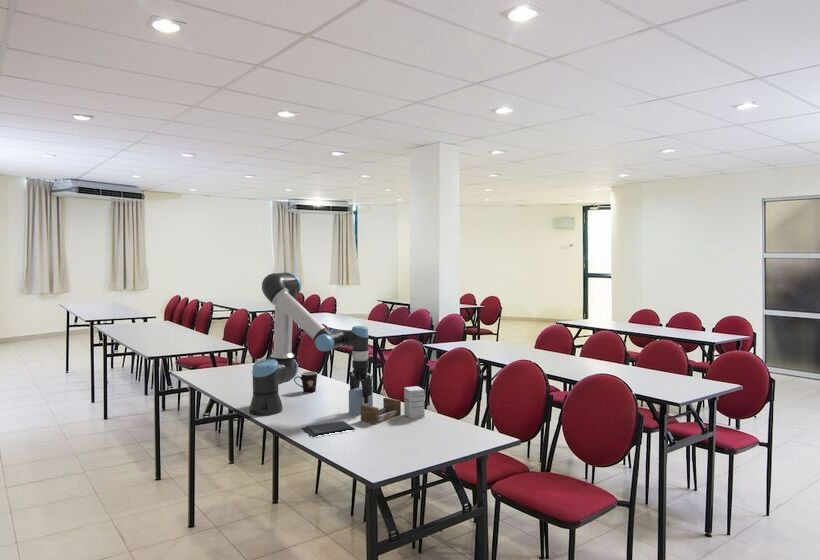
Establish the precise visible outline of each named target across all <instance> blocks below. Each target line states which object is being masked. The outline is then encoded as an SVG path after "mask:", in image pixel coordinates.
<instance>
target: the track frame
mask: <svg viewBox="0 0 820 560" xmlns="http://www.w3.org/2000/svg"><path fill="white" fill-rule="evenodd" d="M382 401H383V403H382V404H383V405H382V406H383V407H381V408H379V407H375V406H373V407H371V406H367V405H361V414H360V421H361V422H364V421H365V423H368V422H369V424H372V425H378V424H381V423H383V421H384V422H386V420H387V421H389V420H392V419H394V418H397V417H400V416H401V415H402V411H401V408H402V406H401V405H402V403H401V400H400V399H395V398H389V397H383V399H382Z"/></svg>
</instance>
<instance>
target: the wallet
mask: <svg viewBox="0 0 820 560" xmlns="http://www.w3.org/2000/svg"><path fill="white" fill-rule="evenodd" d="M301 428H302V429H303V430H304V431H305V432H306V433H308V434H309V435H310V436H312V437H315V436H318V435H324V434H329V433H335V432H342V431H346V430H355V429H356V428H355V427H353V426H351V424H349V423H348V422H345V420H338V421H332V422H326V423H321V424H314V425H312V424H311V425H308V426H307V425H306V426H305V427H301ZM302 429H301V430H302ZM303 430H302V431H303ZM304 431H303V432H304ZM305 432H304V433H305ZM306 433H305V434H306ZM310 436H309V437H310Z"/></svg>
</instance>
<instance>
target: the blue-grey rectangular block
mask: <svg viewBox="0 0 820 560" xmlns="http://www.w3.org/2000/svg"><path fill="white" fill-rule="evenodd" d="M373 393H374V392H373V386H372V395H370V396H368V403H367V406H371V407H374V405H373V403H374V402H373V400H374V399H373V398H374V397H373ZM362 396H363V390H362V386H359V388H355V389H352V390H350V389H348V415H351V416H358V415H361V405H362Z"/></svg>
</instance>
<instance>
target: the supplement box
mask: <svg viewBox="0 0 820 560" xmlns="http://www.w3.org/2000/svg"><path fill="white" fill-rule="evenodd" d="M403 389H404V390H403V392H404V393H403V397H404V398H403V399H404V400H403V401H404V402H403V404H404V405H403V406H404V407H403V408H404V409H403V410H404V411H403V412H404V414H403V415H405V416H406V417H408V419H409V420H410V419H420V418H424V417H425V389H423V388H422V387H420V386H419V385H418V386H417V385H414V386H406V387H404V388H403Z"/></svg>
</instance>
